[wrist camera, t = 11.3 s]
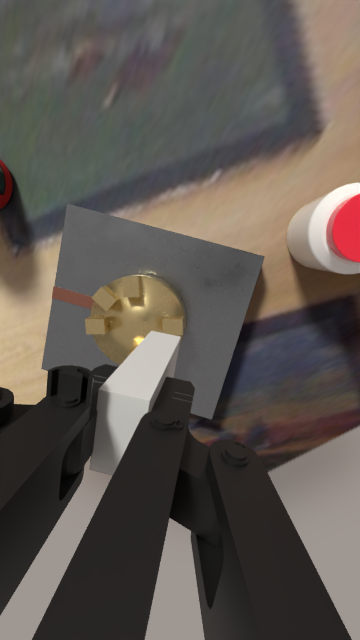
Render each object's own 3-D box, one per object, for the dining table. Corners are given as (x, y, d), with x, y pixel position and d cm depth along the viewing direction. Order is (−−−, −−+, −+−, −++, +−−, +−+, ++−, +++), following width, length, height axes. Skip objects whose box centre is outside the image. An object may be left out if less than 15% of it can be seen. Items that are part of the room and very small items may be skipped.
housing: (259, 255, 36) (264, 256, 32) (210, 408, 41) (209, 426, 37) (82, 208, 37) (66, 203, 33) (56, 363, 42) (39, 375, 38)
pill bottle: (330, 281, 35) (380, 294, 25) (273, 249, 35) (298, 248, 25) (372, 220, 33) (445, 205, 23) (311, 185, 33) (356, 155, 23)
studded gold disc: (96, 274, 34) (80, 277, 30) (185, 273, 33) (181, 276, 29) (108, 412, 38) (95, 431, 34) (188, 415, 36) (185, 435, 32)
